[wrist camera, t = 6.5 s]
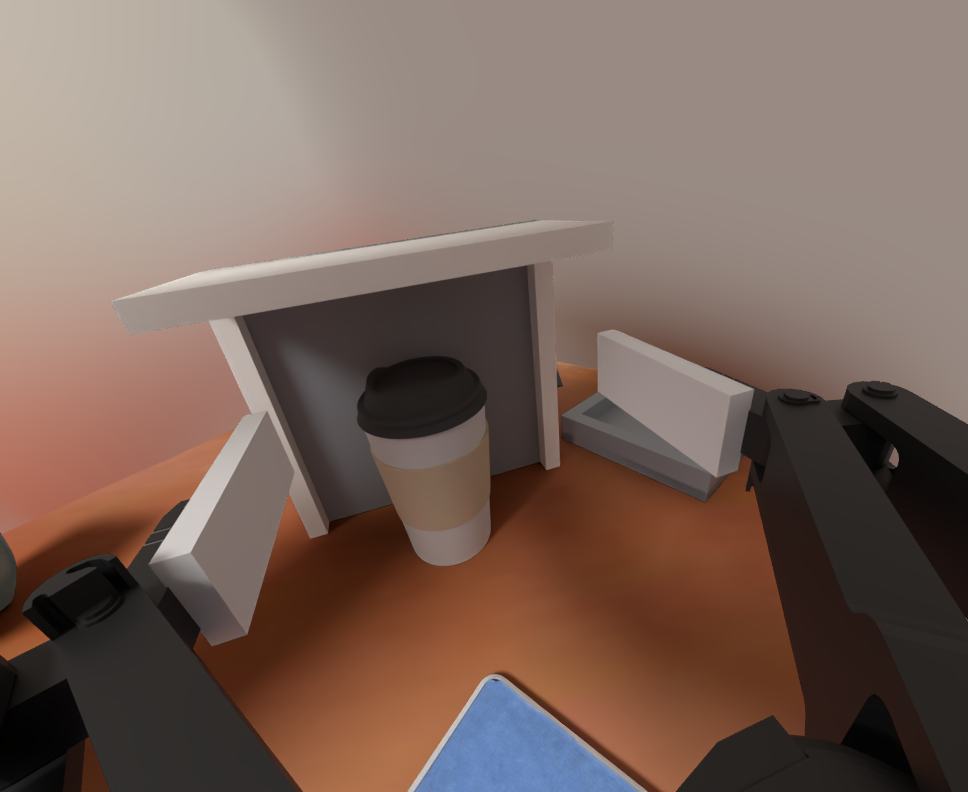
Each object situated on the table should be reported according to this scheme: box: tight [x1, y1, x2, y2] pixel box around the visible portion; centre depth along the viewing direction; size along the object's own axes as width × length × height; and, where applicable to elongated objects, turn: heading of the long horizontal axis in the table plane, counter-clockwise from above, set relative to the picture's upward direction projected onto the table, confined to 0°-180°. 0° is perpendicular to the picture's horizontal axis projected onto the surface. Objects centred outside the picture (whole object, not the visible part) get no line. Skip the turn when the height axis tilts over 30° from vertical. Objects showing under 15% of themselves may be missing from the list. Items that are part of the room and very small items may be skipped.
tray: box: [561, 392, 744, 502], centre depth 40 cm, size 15×15×3 cm
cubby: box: [111, 220, 613, 539], centre depth 28 cm, size 24×11×22 cm, turn 106°
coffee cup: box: [357, 356, 491, 566], centre depth 29 cm, size 9×9×15 cm
